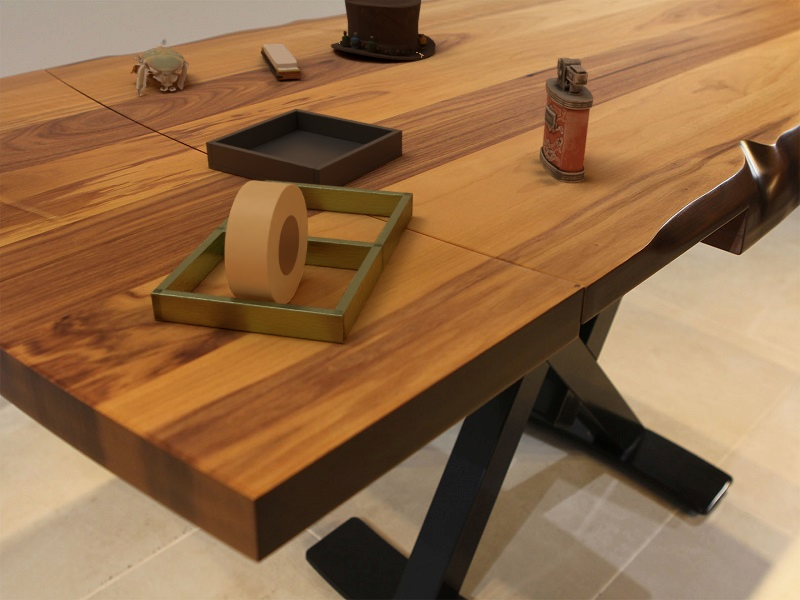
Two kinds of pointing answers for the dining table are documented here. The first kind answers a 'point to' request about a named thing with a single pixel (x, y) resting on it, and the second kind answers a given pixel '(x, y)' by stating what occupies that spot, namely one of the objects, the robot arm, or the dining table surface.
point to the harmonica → (281, 61)
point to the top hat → (385, 30)
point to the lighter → (566, 122)
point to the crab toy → (160, 68)
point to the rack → (295, 320)
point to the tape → (266, 241)
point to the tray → (305, 149)
